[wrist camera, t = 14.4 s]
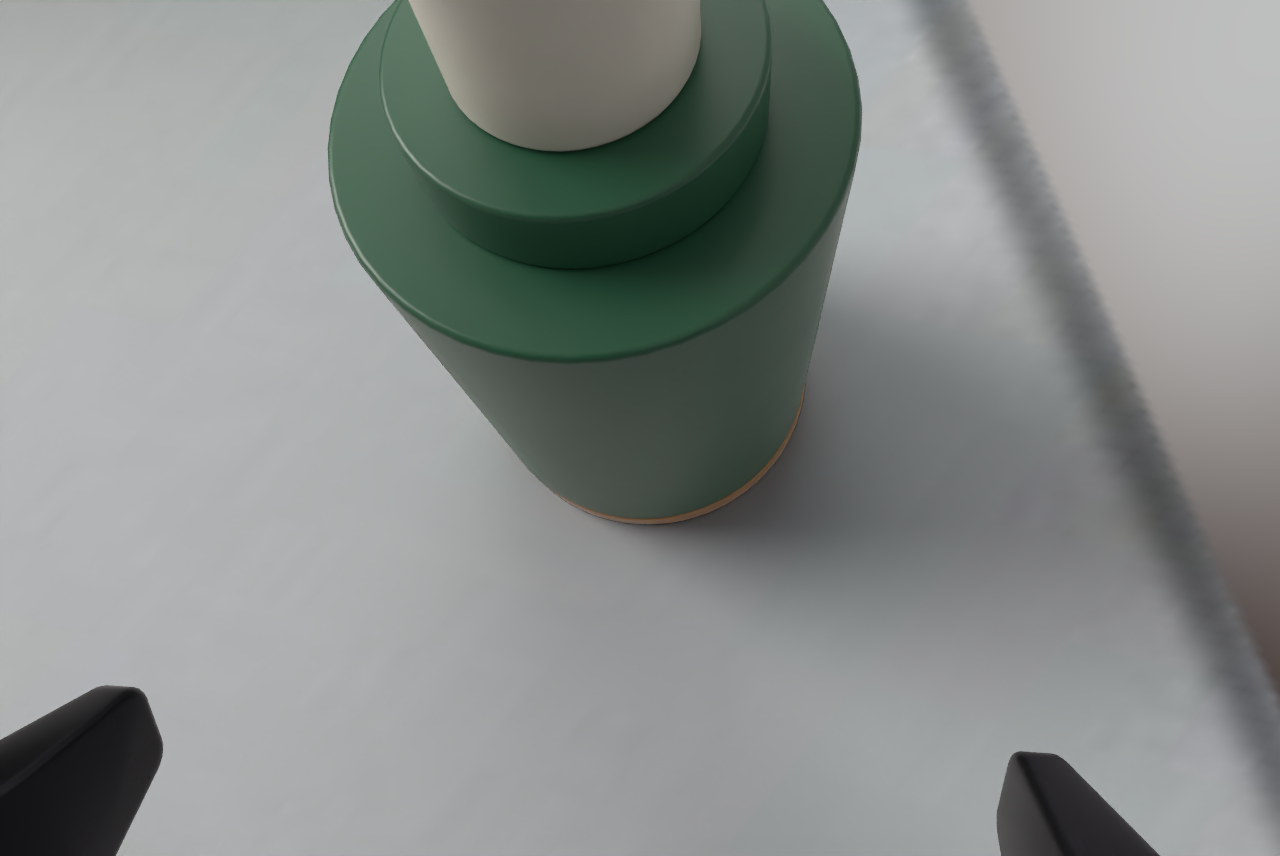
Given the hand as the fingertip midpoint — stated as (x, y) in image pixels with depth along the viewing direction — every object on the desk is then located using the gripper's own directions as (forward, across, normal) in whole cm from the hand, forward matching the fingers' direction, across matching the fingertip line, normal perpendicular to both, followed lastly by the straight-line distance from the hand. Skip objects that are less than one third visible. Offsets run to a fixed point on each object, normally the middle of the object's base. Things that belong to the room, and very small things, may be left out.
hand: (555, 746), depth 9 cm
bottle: (+9, 0, 0) cm, 9 cm away
